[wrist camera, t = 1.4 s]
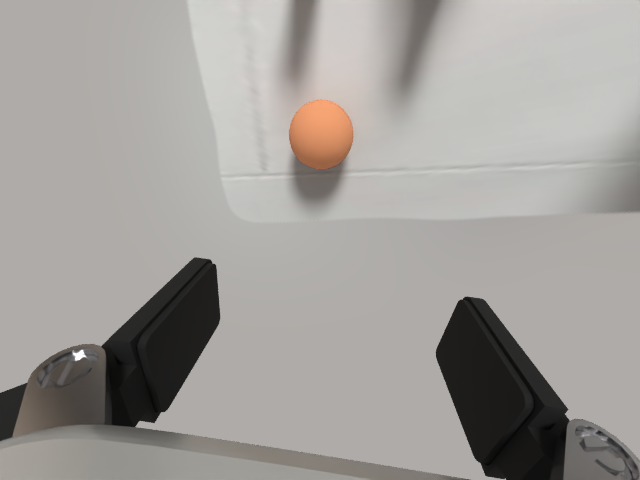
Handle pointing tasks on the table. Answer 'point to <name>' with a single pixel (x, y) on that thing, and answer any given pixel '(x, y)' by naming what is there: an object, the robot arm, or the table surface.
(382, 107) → the table surface
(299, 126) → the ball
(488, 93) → the table surface
